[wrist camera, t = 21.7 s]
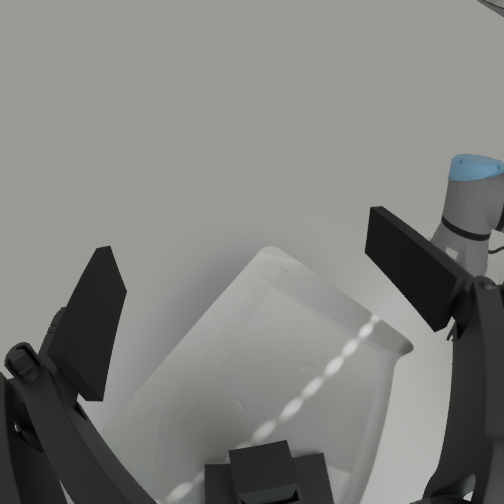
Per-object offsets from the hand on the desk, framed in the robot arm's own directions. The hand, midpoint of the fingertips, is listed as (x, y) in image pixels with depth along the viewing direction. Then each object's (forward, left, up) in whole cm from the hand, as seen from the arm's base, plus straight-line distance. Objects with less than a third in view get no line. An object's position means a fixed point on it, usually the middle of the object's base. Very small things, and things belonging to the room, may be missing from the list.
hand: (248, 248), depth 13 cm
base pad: (0, +7, -23) cm, 24 cm away
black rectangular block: (0, +7, -22) cm, 23 cm away
